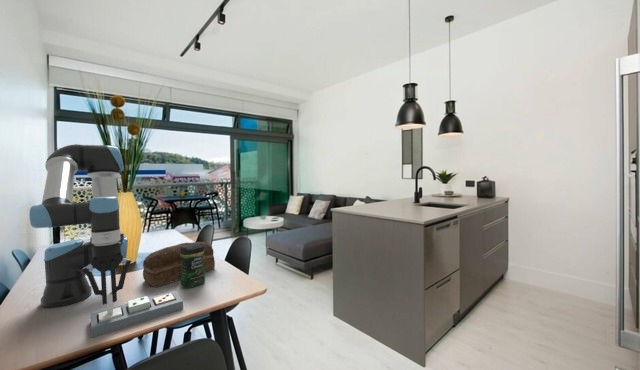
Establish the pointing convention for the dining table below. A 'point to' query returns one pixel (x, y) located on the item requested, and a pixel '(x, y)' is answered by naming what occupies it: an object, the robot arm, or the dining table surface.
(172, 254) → the bread
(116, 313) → the button one
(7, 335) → the dining table surface
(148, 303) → the button two
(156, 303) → the button three
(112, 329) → the console
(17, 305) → the dining table surface
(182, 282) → the coffee jar
